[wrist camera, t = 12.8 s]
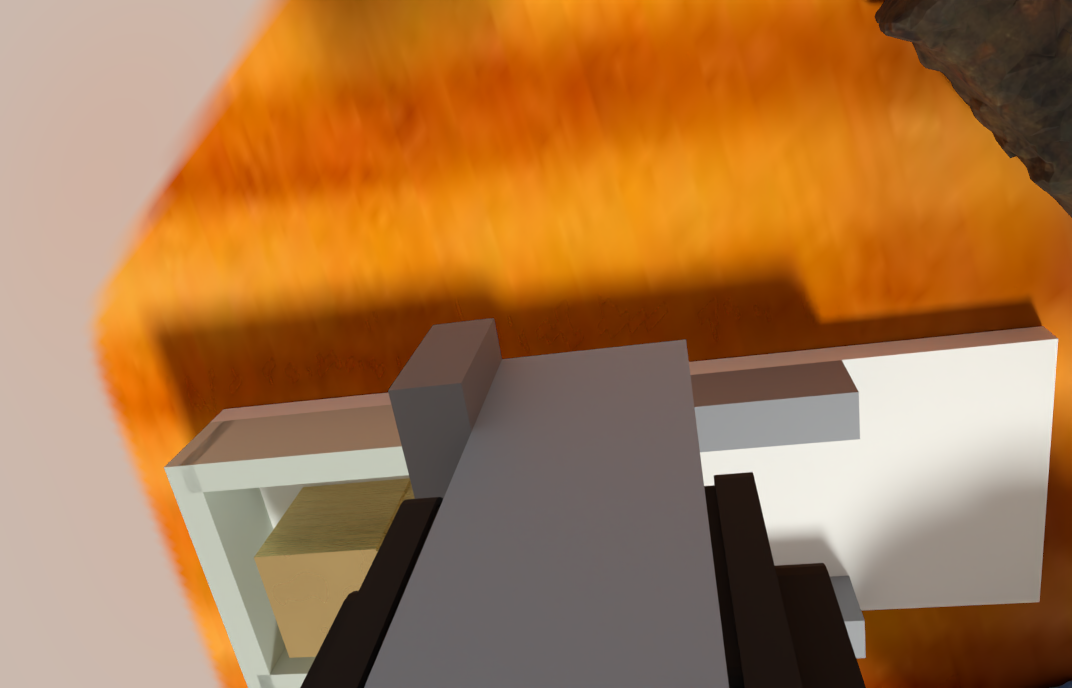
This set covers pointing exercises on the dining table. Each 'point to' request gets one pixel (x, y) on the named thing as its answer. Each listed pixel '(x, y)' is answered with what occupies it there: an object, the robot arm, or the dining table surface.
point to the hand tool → (1003, 72)
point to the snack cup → (1065, 685)
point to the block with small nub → (554, 520)
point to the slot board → (725, 448)
